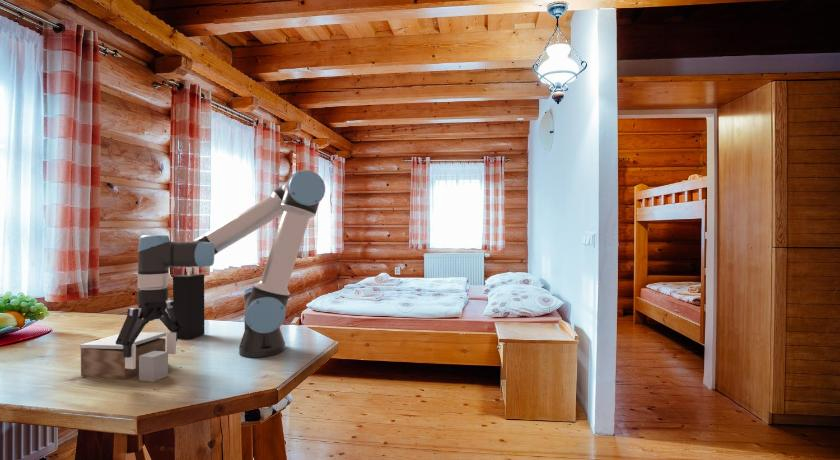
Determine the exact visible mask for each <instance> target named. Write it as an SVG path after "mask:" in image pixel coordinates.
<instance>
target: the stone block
mask: <svg viewBox="0 0 840 460" xmlns="http://www.w3.org/2000/svg"><path fill="white" fill-rule="evenodd" d="M168 376H169V354H168V352H167V351H166V352H164V351H152V352H149V353H146V354H143V355H140V356H139V374H138V380H139V381H143V382H144V381H145V382H151V383H153V382H156V381H158V380H160V379H163V378H165V377H168Z"/></svg>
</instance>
